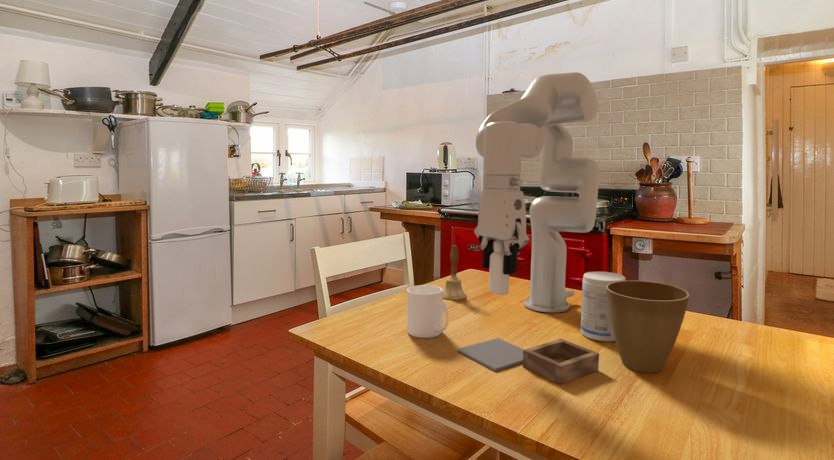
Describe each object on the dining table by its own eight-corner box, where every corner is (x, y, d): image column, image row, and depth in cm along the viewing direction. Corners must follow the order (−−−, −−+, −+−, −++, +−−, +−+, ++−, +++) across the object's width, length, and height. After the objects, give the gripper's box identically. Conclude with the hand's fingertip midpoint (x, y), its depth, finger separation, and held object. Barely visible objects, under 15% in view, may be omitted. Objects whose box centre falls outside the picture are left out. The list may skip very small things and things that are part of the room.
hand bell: (464, 292, 151) (465, 243, 149) (468, 300, 143) (469, 247, 141) (438, 292, 151) (438, 243, 148) (441, 300, 142) (441, 247, 140)
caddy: (560, 354, 102) (561, 338, 102) (598, 370, 94) (599, 353, 94) (522, 366, 96) (523, 350, 96) (559, 384, 88) (560, 366, 88)
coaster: (498, 340, 110) (498, 337, 110) (537, 358, 100) (537, 355, 100) (457, 351, 104) (457, 348, 103) (495, 371, 94) (495, 368, 94)
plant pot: (614, 345, 107) (619, 276, 105) (689, 363, 98) (695, 287, 96) (591, 367, 96) (595, 290, 94) (673, 389, 86) (680, 304, 84)
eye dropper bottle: (509, 289, 102) (511, 234, 100) (507, 296, 97) (509, 238, 95) (489, 287, 103) (491, 233, 101) (486, 294, 98) (487, 237, 96)
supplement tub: (603, 326, 120) (606, 269, 118) (632, 339, 111) (636, 278, 109) (571, 331, 116) (574, 272, 114) (598, 345, 108) (602, 281, 105)
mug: (434, 345, 107) (434, 299, 105) (399, 331, 116) (399, 289, 114) (460, 336, 113) (460, 292, 111) (425, 324, 121) (425, 283, 120)
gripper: (546, 185, 92) (543, 276, 94) (487, 182, 106) (485, 261, 108) (519, 185, 88) (515, 281, 90) (460, 182, 102) (459, 265, 104)
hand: (499, 269), depth 99 cm, fingers closed on eye dropper bottle, 5 cm apart
